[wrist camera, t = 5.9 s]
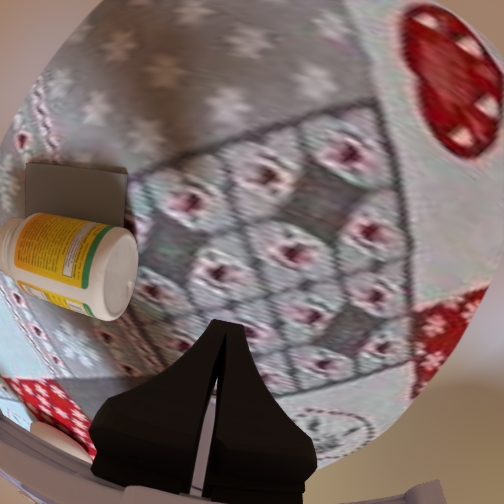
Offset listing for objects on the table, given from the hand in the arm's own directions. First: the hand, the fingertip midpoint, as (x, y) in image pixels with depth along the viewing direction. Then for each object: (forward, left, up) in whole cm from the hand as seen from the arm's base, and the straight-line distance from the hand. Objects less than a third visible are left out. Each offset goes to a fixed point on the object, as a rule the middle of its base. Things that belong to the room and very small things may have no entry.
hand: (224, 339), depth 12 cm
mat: (0, +12, -6) cm, 14 cm away
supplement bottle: (0, +6, -3) cm, 7 cm away
